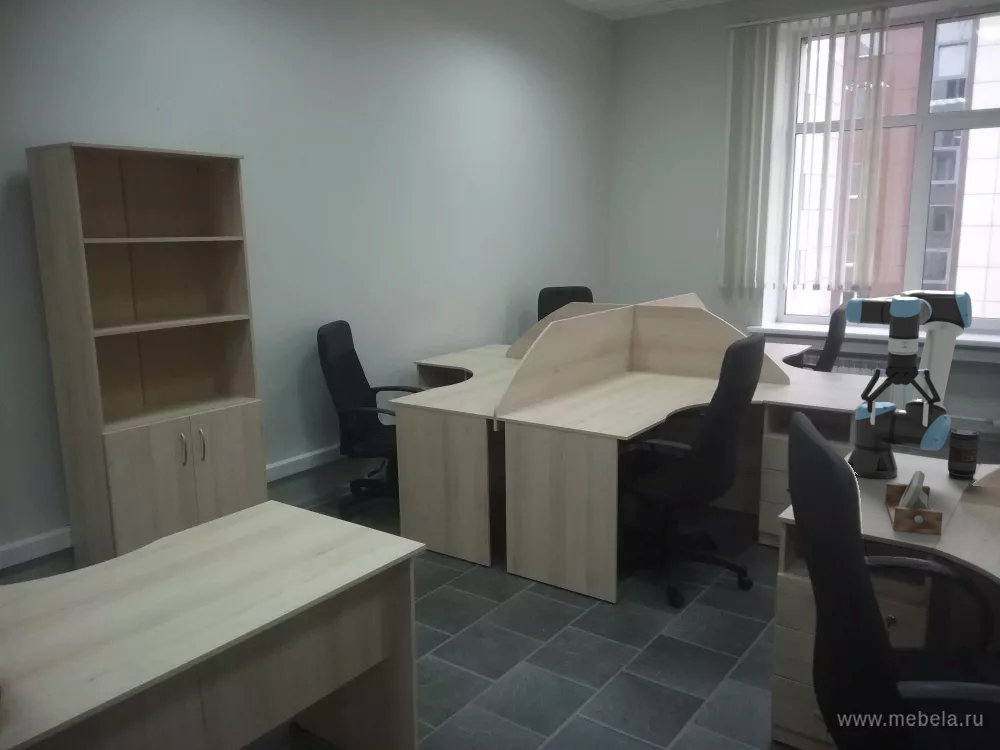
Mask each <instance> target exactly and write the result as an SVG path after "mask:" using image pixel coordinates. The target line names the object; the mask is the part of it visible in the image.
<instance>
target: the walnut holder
mask: <svg viewBox="0 0 1000 750" xmlns="http://www.w3.org/2000/svg"><path fill="white" fill-rule="evenodd" d="M885 484H886V485H885V486H886V487H885V500H884V504H885V507H886V509H887V512H888V516H889V519H890V522H891V525H892V528H893V530H894V531H897V532H906V533H907V532H908V533H917V534H927V535H935V534H936V535H939V536H941V535H942V527H943V525H942V523H943V513H944V512H943V510H938V509H932V508H931V506H930V490H931V488H930V485H923V487H922V490H923V492H924V493H925V494H926V495H927V496H928V505H927V509H918V508H907V507H898V506H899V503H900V500H901V497H902V496H903V494H904V492H905V490H906V488H907V486H908V485H909V483H897V482H895V483H893V482H886V483H885Z"/></svg>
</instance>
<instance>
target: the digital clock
mask: <svg viewBox="0 0 1000 750" xmlns="http://www.w3.org/2000/svg"><path fill="white" fill-rule="evenodd" d="M925 476H926V475H925V473H924V472H923V471H922V470H917V471H915V472H914V473H913V475H912V477H911V478H910V480H909V483H908V484H909V485H908V486H907V488H906V490H905V492H904V494H903V496H902V497H901V500H900V503H899V506H898V507H907V508H918V509H927V505H928V496H927V495H926V494H925V493H924V492H923V490H922V487H923V486H924V482H925V478H926V477H925Z"/></svg>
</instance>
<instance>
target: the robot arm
mask: <svg viewBox="0 0 1000 750" xmlns="http://www.w3.org/2000/svg"><path fill="white" fill-rule="evenodd" d="M971 298H972V297H971V296H970V294H969V293H968V292H966V291H960V290H954V289H953V290H931V289H929V290H927V289H926V290H925V289H914V290H913V289H912V290H905V291H900V292H894V293H891V294H888V296H881V297H871V298H863V297H862V298H861V297H859V298H855V297H853V298H850V299H848V302H847V304H846V305H845V306H846V307H845V318H846V321H847V322H849V323H852V324H857V325H858V324H864V325H865V324H866V325H867V324H869V325H883V326H888V327H889V329H888V342H887V343H888V346H887V350H888V353H887V359H886V362H887V364H886V368H885V369H884V368H883V369H882V368H879V367H875V368H874V370H873V371H874V372H873V375H872V377H871V378H870V380H869V381H868V384H867V385H866V386H865V388H864V389H863V390H862V391H863V392H862V393H861V395H860V398H861V401H865V402H866V403H862V404H859V405H858V406H857V407H856V409H855V410H856V411H855V417H854V433H853V434H854V435H853V436H854V438H853V447H852V450H851V453H850V455H849V457H848V460H847V461H848V463H849V464H850V465H851V467H852V468H853V470H854V472H856V473H857V474H858V475H860V476H859V477H861V476H862V477H861V478H866V477H867V479H874V478H876V479H875V480H877V479H880V480H882V479H883V480H884V479H892V478H895V477H897V476H896V475H898V465H897V462H896V459H895V453H894V451H893V450H894V446H900V447H906V448H914V449H919V450H922V451H938V450H940V449H942V448H943V446H945V443H946V442H947V439H948V437H949V435H950V429H951V426H952V419H951V416H950V415H948V414H947V412H948V411H947V409H946V407H945V406H944V405H943V404H944V401H945V400H944V399H945V395H946V391H947V389H946V388H947V385H948V380H949V376H950V370H951V365H952V361H953V357H954V353H955V352H954V351H955V347H956V343H957V342H956V341H957V338H958V337H960V336H962V334H963V333H964V329H968V328H970V327H971V325H972V321H973V320H972V319H973V307H972V299H971ZM920 326H922V330H923V331H924V332H925V333H926V335H925V339H924V343H923V348H922V353H921V359H920V361H919V366H918V353H917V352H918V351H919V339H920ZM883 375H886V376H887V377H886V379H884V380H883V381H882V383H881V384H880V385H879V386H878V387H877V388H876V389H875V390H874V391H873V392H872V390H873V389H874V387H875V385H876V384H877V383H878V381H879V379H880V377H883ZM915 379H916V380H915ZM892 384H893V385H895V386H900V385H904V386H908V385H909V384H911V385H912V387H914V390H913V394H912V399H911V400H910V401H907V402H906V403H905V407H904V409H900V408H897V405H896V403H894V402H889V401H888V402H887V401H875V400H876V399H877V398H878V397H879V396H881V394H882V393H883V392H884V391H886V390H887V388H889V387H890V386H892ZM856 473H855V474H856ZM857 474H856V475H855V476H857Z"/></svg>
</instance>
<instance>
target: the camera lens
mask: <svg viewBox="0 0 1000 750" xmlns="http://www.w3.org/2000/svg"><path fill="white" fill-rule="evenodd" d="M948 446H949V449H948V450H949V451H948V458H947V472H948V476H949V477H950V478H953V479H956V480H960V481H970V480H973V478H974V476H975V474H976V473H977V472H976V471H977V467H978V466H977V465H978V464H977V463H978V450H979V447H980V433H979V432H978V431H976V430H971V429H959V428H958V429H957V428H956V429H951V432H950V433H949V441H948Z"/></svg>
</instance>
